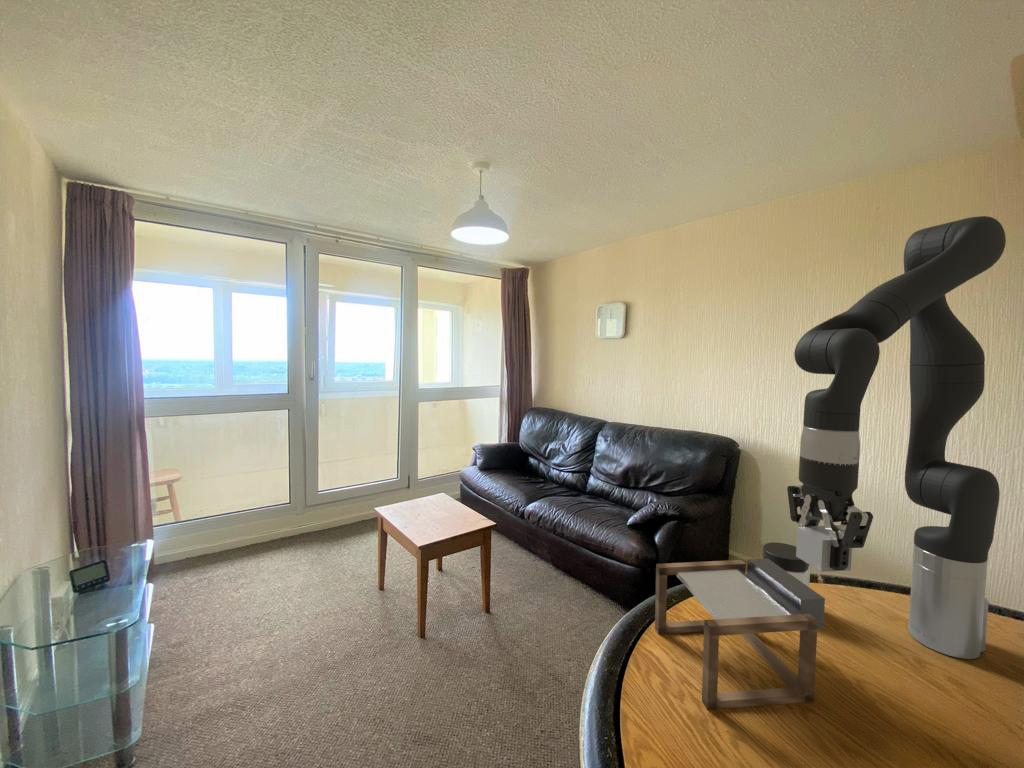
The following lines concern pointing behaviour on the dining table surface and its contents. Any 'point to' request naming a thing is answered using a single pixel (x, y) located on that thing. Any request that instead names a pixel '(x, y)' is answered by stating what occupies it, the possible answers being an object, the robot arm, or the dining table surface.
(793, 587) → the trapdoor
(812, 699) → the frame
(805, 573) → the jar
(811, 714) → the dining table surface
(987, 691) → the dining table surface
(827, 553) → the gray cube
